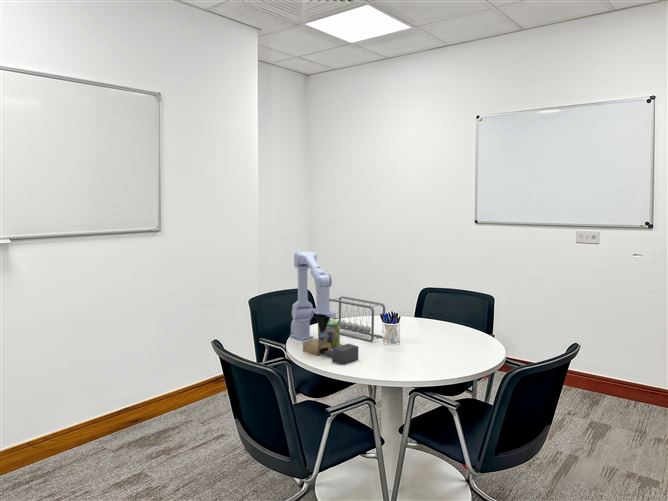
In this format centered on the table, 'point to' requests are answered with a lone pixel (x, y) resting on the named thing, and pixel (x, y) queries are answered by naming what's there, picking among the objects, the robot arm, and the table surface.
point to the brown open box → (316, 346)
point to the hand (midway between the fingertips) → (322, 331)
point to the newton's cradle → (355, 326)
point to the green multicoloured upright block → (331, 333)
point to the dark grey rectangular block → (343, 354)
